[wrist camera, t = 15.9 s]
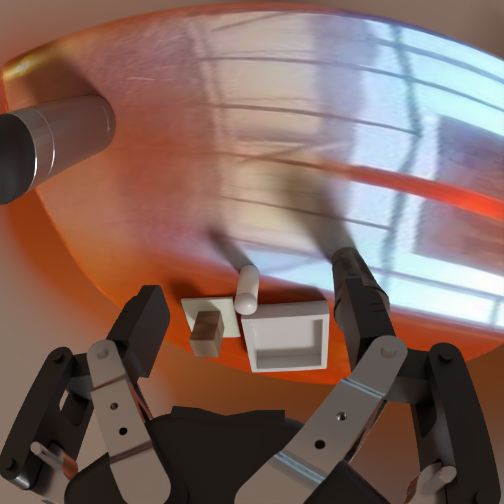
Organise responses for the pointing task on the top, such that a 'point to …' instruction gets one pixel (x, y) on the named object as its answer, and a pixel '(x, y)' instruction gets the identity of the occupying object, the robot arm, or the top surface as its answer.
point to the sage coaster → (213, 304)
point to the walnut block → (207, 334)
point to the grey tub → (287, 336)
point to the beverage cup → (350, 265)
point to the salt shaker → (247, 290)
